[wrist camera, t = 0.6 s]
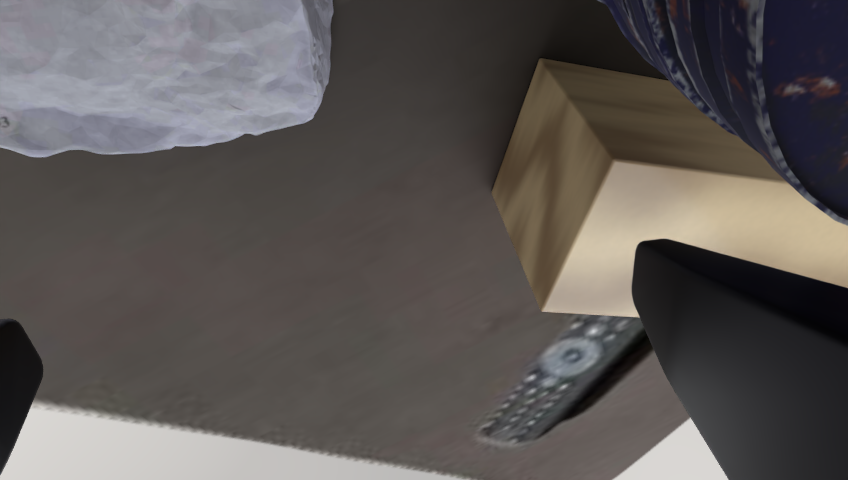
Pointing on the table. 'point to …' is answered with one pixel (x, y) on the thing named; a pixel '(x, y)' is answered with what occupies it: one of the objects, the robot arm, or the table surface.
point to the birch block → (641, 190)
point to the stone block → (157, 72)
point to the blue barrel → (760, 78)
